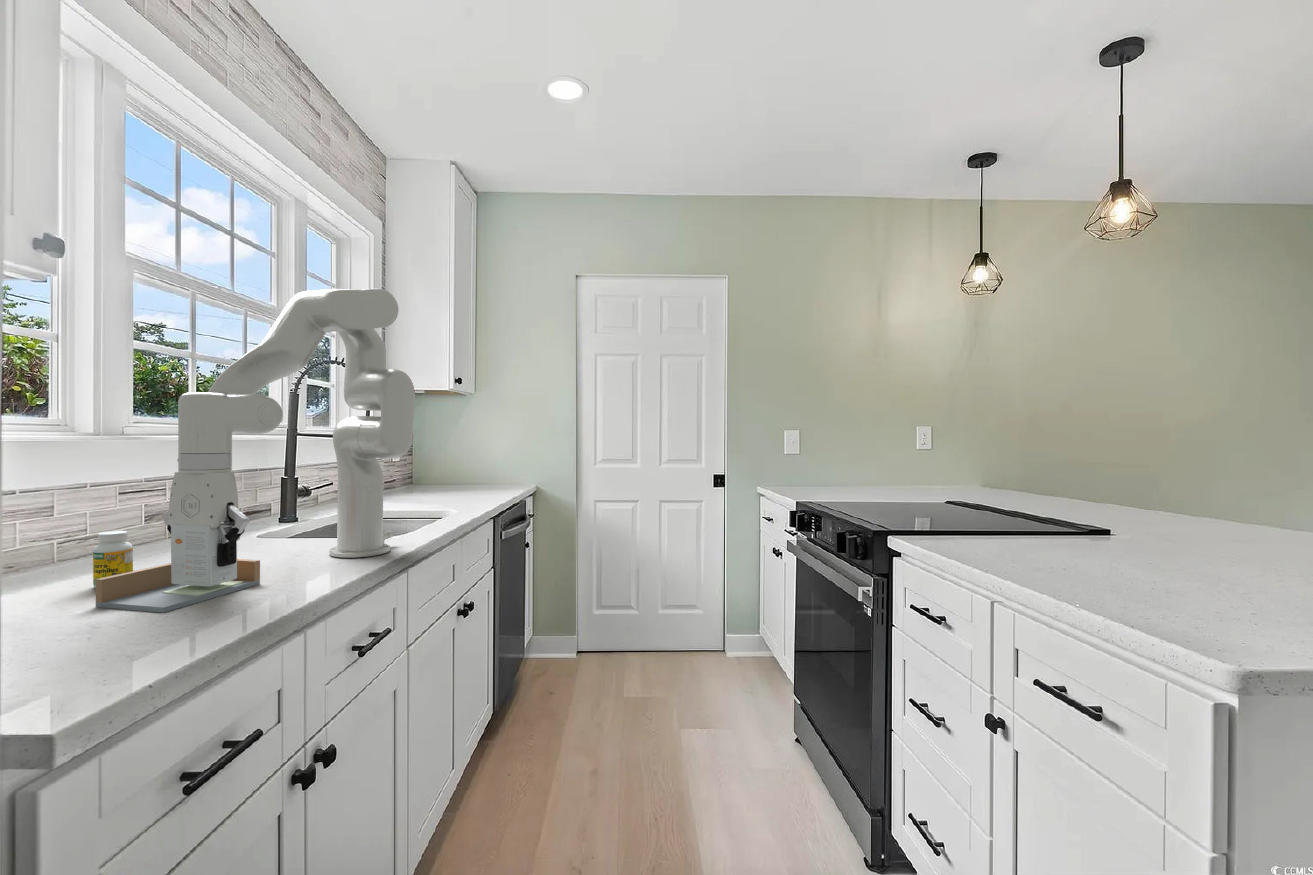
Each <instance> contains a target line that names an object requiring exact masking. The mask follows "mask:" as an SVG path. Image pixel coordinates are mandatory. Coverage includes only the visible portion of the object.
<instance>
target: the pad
mask: <svg viewBox="0 0 1313 875" xmlns="http://www.w3.org/2000/svg"><path fill="white" fill-rule="evenodd" d="M241 583H244V582H242V581H227V582H224V583H220V584H217V585H213V586H210V587H208V586H195V585H187V586H183V587H180V588H176V589H172V590H168V591H164V592H162V593H166V594H179V595H192V596H199V595H202V594H206V593H209V592H213V591H216V590H220V589H223V588H227V587H230V586H234V585H237V584H241Z"/></svg>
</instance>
